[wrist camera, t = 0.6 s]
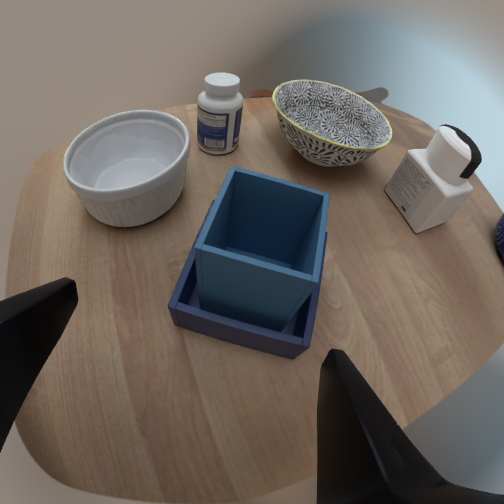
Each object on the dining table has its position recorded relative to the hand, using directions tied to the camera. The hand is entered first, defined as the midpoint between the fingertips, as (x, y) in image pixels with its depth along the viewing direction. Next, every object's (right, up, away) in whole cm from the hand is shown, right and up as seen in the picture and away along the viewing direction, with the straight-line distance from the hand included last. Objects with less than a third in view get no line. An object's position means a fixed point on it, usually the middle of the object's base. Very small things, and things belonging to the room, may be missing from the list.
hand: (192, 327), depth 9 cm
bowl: (+11, +16, +30) cm, 36 cm away
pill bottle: (-3, +17, +28) cm, 33 cm away
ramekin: (-11, +9, +22) cm, 27 cm away
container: (+25, +9, +27) cm, 38 cm away
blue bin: (+2, -1, +17) cm, 17 cm away
